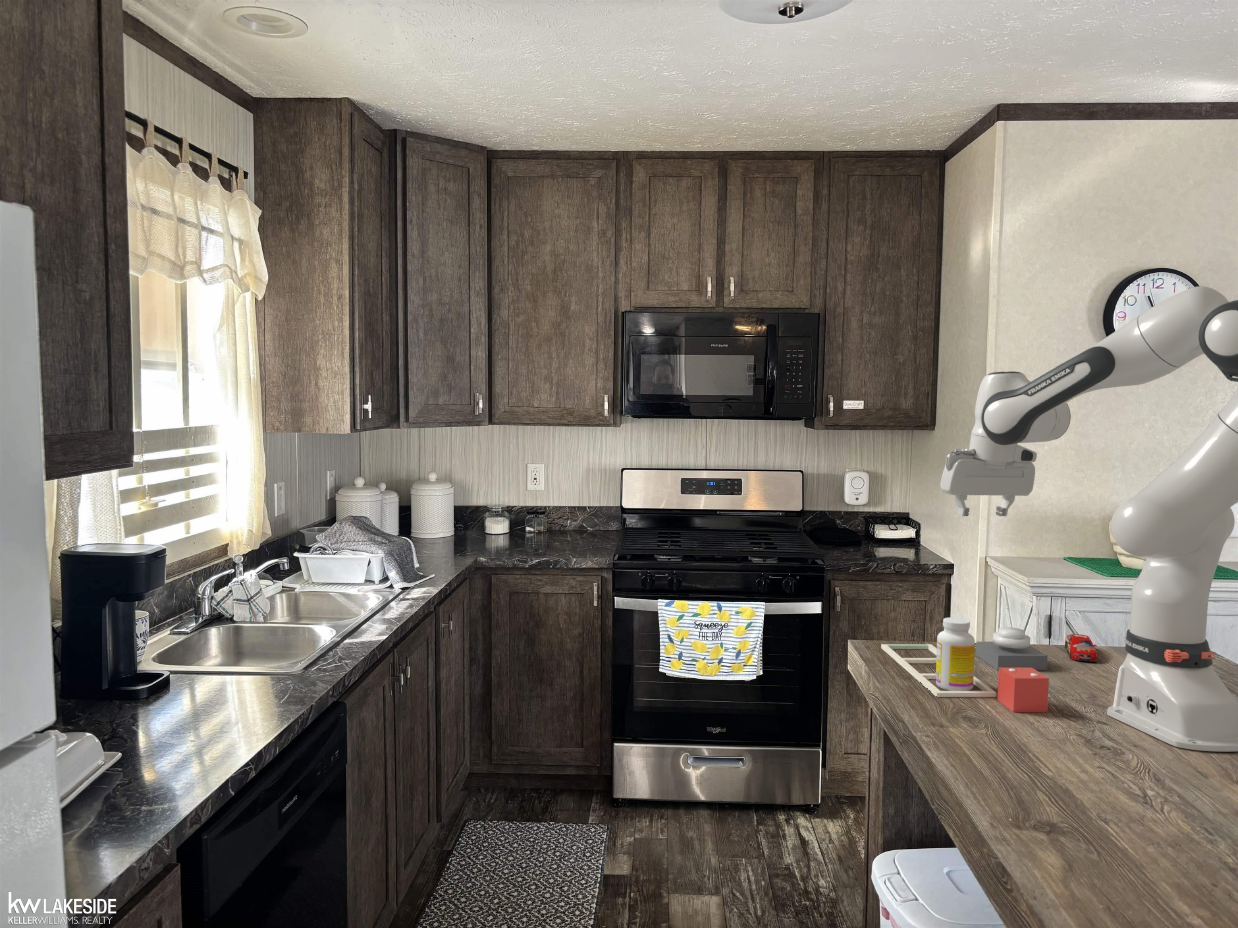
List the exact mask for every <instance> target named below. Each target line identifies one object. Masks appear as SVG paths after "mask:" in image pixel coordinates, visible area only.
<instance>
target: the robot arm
mask: <svg viewBox="0 0 1238 928" xmlns="http://www.w3.org/2000/svg"><path fill="white" fill-rule="evenodd" d="M1202 355H1205V356H1206V358H1208V360H1209V361H1210V362H1211V363H1213V364H1214V365H1215V366H1216V367H1217V368H1218V370H1219V371H1220V373H1222V375H1223V376H1224V377H1225V378H1226V379H1227V380H1228V381H1229V382H1237V383H1238V299H1235V300H1232V301H1231V300H1230V301H1229V300H1228V299H1227V297H1226V296H1225V295H1223V294H1222V293H1221V292H1220V291H1218V290H1216V289H1214V288H1212V287H1208V286H1203V285H1202V286H1194V287H1191V288H1188V289H1186V290H1183V291H1181V292H1179V293H1177V294H1175V295H1172V296H1170V297H1169V298H1167V299H1165V300H1163V301H1161V302H1158V303H1157V304H1155V305H1154V306H1151V307H1150V308H1148V309H1147V310H1145V311H1143V312H1142V313H1141V314H1139V315H1138V316H1136V317H1135V318H1133V319H1131V320H1130V321H1128V322H1127V323H1126V324H1124V325H1123V326H1121V327H1119V328H1118V329H1116V330H1115V331H1114V332H1112V333H1111V334H1109V335H1108V336H1106V337H1104V338H1103V339H1101V340H1100V341H1098V342H1096V343H1095V344H1093V345H1091V346H1090V347H1088V348H1086V349H1085V350H1084V351H1082V352H1081V353H1078V354H1077V355H1075V356H1074V357H1071V358H1069V359H1068V360H1065V361H1063V363H1061V364H1059V365H1057V366H1055V367H1054V368H1052V369H1051V370H1049V371H1046V372H1045V373H1044V374H1041V375H1040V376H1038V377H1037V378H1035V379H1034V380H1033V379H1032V381H1030V380H1029V379H1028V378H1027V376H1026V374H1025V373H1022V372H1020V371H1011V370H1010V371H993V372H990V373H987V374H986V375H984V377H983V378H982V380H981V382H980V385H979V388H978V391H977V397H976V401H975V407H974V417H975V418H974V419H975V420H974V421H975V422H974V425H973V428H972V429H971V433H970V438H969V439H970V440H969V444H968V445H969V447H968V449H967V448H965V449H961V448H956V449H954V450H953V451H951V452H950V453H949V454H947V456H946V461H945V466H944V469H943V471H942V475H941V479H940V483H939V488H940V490H941V491H942V492H943V493H945V494H948V495H949V496H950V495H951V496H954V501H955V503H956V505H957V513H956V514H957V515H958V516H960V517H968V516H969V512H970V508H969V507H967V505H966V502H965V501H967V500H968V496H1001V498H1002V499H1003V500H1002V501H1001V503H1000V505H999V506H996V508H995V509H996V510H995V515H996V516H998V517H1007V516H1008V511H1009V509H1010V507H1011V506H1012V505H1013V503H1014V502H1015V498H1016V496H1017V497H1019V496H1020V497H1023V496H1024V497H1026V496H1029V495H1030V494H1031V493H1032V492H1033V489H1034V484H1035V477H1036V467H1035V464H1034V462H1036V460H1037V458H1038V457H1037V456H1038V454H1037V452H1036V451H1034V450H1031V449H1029V448H1027V447H1025V446H1022V445H1019V444H1025V443H1030V444H1031V443H1044V442H1052V441H1055V440H1058V439H1059V438H1061V437H1062V436H1064V435H1065V433H1066V432H1067V431H1068V429H1069V427H1070V424H1071V420H1072V416H1071V410H1070V407H1069V405H1068V402H1070V401H1071V400H1074V399H1075V398H1077V397H1080V396H1082V395H1084V394H1087V393H1090V392H1093V391H1097V390H1098V391H1099V390H1104V389H1111V388H1119V387H1131V386H1132V387H1133V386H1139V385H1144V384H1147V383H1150V382H1153V381H1155V380H1158V379H1160V378H1163V377H1164V376H1167V375H1169V374H1171V373H1173V372H1174V371H1176V370H1178V369H1180V368H1181V367H1183V366H1185V365H1186V364H1188V363H1190V362H1191V361H1193V360H1194V359H1196V358H1198V357H1200V356H1202ZM1236 504H1238V386H1236V390H1235V392H1234V393H1233V395H1232V396H1231V397H1230V399H1229V401H1227V402H1226V403H1225V405H1224V406H1223V408H1222V409H1221V410H1220V411H1219V412H1218V413H1217V414H1216V416H1215V417H1214V418H1213V419H1212V421H1210V423H1209V424H1208V425H1207V426H1206V427H1205V429H1204V430H1203V431H1202V432H1201V433H1200V435H1198V437H1197V438H1196V439H1195V440H1194V441H1193V443H1192V444H1191V445H1190V446H1189V448H1187V449H1186V450H1185V451H1184V453H1183V454H1182V455H1180V456H1179V457H1178V458H1177V459H1176V460H1175V461H1174V462H1172V463H1171V464H1170V465H1169V466H1168V467H1166V468H1165V469H1164V470H1163V471H1161V473H1159V474H1158V475H1157V476H1156V477H1155V478H1153V479H1152V480H1151V481H1150V482H1149V483H1148V484H1147V485H1145V487H1144V488H1142V489H1141V490H1140V491H1139V492H1138V493H1136V494H1135V495H1134V496H1133V497H1131V498H1129V499H1128V500H1126V501H1125V502H1123V503H1122V504H1120V505H1119V506H1118V507H1117V508H1116V510H1115V511H1114V512H1113V514H1112V517H1111V521H1110V531H1111V534H1112V538H1113V540H1114V541H1115V543H1116V544H1117V545H1118V546H1119V547H1120V548H1121V549H1122V550H1123V552H1126V553H1128V554H1130V555H1133V556H1135V557H1140V558H1145V562H1144V563H1143V567H1142V570H1141V571H1140V574H1139V575H1138V577H1137V578H1136V580H1135V581H1134V583H1133V585H1132V588H1131V596H1130V597H1131V598H1130V616H1129V628H1128V629H1127V630H1126V633H1125V634H1126V636H1125V637H1124V639H1125V640H1124V643H1125V648H1124V649H1125V651H1126V653H1127V654H1126V657H1125V659H1124V660H1123V662H1122V664H1121V665H1120V667H1119V669H1118V673H1117V679H1116V685H1115V692H1114V697H1113V698H1114V699H1113V704H1112V705H1110V706H1108V707H1107V708H1106V709H1107V710H1106V715H1108V716H1109V717H1111V718H1113V719H1116V720H1118V721H1120V722H1122V723H1124V724H1126V725H1128V726H1131V727H1133V728H1135V729H1136V730H1139V731H1141V732H1142V733H1145V734H1147V735H1149V736H1152V737H1154V738H1156V739H1157V740H1160V741H1162V742H1165V743H1166V744H1169V745H1172V746H1173V747H1175V748H1180V749H1187V750H1192V751H1193V750H1194V751H1202V752H1206V751H1207V752H1227V753H1228V752H1238V696H1237V694H1234V693H1232V692H1231V691H1230V690H1229V689H1228V687H1227V686H1226V685H1225V684H1224V682H1223V681H1222V679H1221V678H1220V676H1219V675H1218V674H1217V672H1215V670H1214V668H1213V666H1212V665H1213V662H1214V661H1213V660H1216V659H1217V657H1214V655H1217V652H1216V651H1212V650H1211V647H1210V646H1209V645H1210V644H1209V641H1208V639H1207V638H1206V635H1207V621H1208V608H1209V607H1208V606H1209V597H1210V591H1211V589H1212V584H1213V580H1214V578H1215V574H1216V571H1217V567H1218V564H1219V561H1220V558H1221V555H1222V551H1223V548H1224V546H1225V543H1226V542H1227V541H1228V539H1229V537H1230V536H1231V535H1232V533H1233V531H1234V529H1235V515H1234V512H1233V510H1232V507H1233V506H1235V505H1236Z"/></svg>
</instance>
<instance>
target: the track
mask: <svg viewBox="0 0 1238 928" xmlns="http://www.w3.org/2000/svg"><path fill="white" fill-rule="evenodd" d="M880 649H882V651H884V652H885V653H886V654H887V655H889V656H890V657H891V658H892V659H893V660H894V661H895V662H896V663H898V665H899V666H900V667H902V668H903V669H904V670H906V671H907V672H908V673H909V674H910V675H911V676H912V677H913V678H914V679H915V680H916V681H918V682H919V683H920V682H921V683H922V684H921V683H920V684H921V685H922V686H924V688H926V689H927V688H928V689H927V690H928V691H929V690H930V691H931V692H930V691H929V692H930V693H932V694H933V695H934V696H935V697H936V696H937V697H936V698H997V695H998V692H996V691H995V690H993V688H991V687H989V686H988V685H987V684H985V682H983V681H982V680H980V679H979V678H977V677H976V676H974V682H973V686H974V685H975V686H976V687H977V688H978V689H980V690H970V691H949V690H940V689H939V688H938V687H937V686H935V684H933V683H931V681H929V680H936V673H920V671H918V670H917V669H915V668H914V666H912V665H911V664H936V661H937V657H901V656H900V654H898V653H897V652H895V651H894V650H929V651H930V652H931V653H932V654H933V655H935V656H937V646H934V644H931V643H927V644H926V643H923V644H922V643H921V644H920V643H919V644H918V643H917V644H915V643H913V644H912V643H908V644H907V643H904V644H903V643H899V644H897V643H896V644H895V643H892V644H891V643H888V644H887V643H885V644H884V643H881V647H880Z"/></svg>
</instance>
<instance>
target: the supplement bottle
mask: <svg viewBox="0 0 1238 928" xmlns="http://www.w3.org/2000/svg"><path fill="white" fill-rule="evenodd" d="M942 626H943V631H942V630H941V631H940V632H939V633H937V636H936V638H937V639H936V648H937V655H936V658H937V661H936V663H935V664H936V665H935V666H936V668H935V674H936V679H935V684H936V686H937V687H938V688H941V689H942V690H944V691H972V690H973V688H974V684H973V682H974V675H975V672H974V671H975V652H976V646H975V645H976V640H975V638H974V636H973V635H972V634H971V633H969V630H970V628H971V627H970V626H971V622H970V620H969V619H966V618H962V617H954V616H953V617H945V618H943V621H942Z"/></svg>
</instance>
